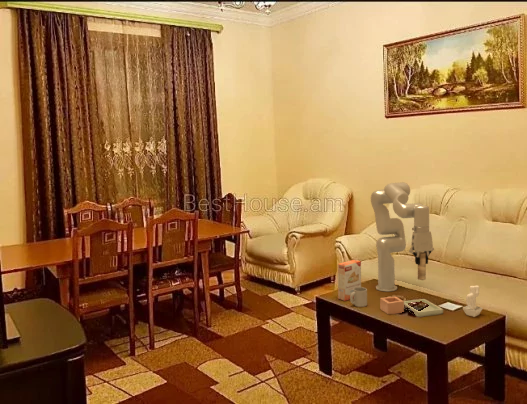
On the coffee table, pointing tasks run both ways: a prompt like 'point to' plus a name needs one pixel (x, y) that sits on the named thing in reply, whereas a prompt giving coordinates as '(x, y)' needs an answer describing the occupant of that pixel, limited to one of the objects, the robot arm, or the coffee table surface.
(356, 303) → the cup
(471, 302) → the figurine
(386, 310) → the holder
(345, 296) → the cracker box
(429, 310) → the tray
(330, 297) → the coffee table surface
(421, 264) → the dowel
